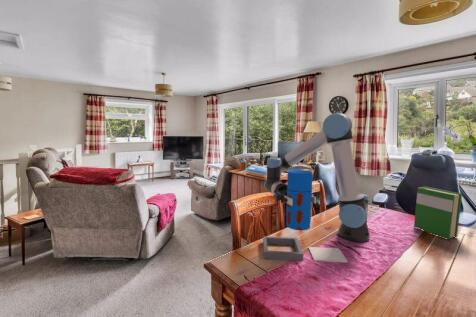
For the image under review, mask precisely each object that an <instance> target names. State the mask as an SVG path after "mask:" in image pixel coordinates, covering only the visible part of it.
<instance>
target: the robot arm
mask: <svg viewBox="0 0 476 317" xmlns="http://www.w3.org/2000/svg"><path fill="white" fill-rule="evenodd" d="M352 128H353V122H352V120H351V118H350V117H349V116H348V115H346V114H345V113H342V112H335V113H332V114H329V115H327V117H325V119H324V120H323V122H322V127H321V130H320V131H319V132H317V133H316V134H314V135H313V136H312V137H310V138H309V139H306V140H305V141H304V142H303V143H301V144H300V145H299V146H297V147H295V148H294V149H293V150H290V152H288V153H287V154H285V155H284V156H282V157H268V158H267V160H266V179H264V182H263V187H264V189H265V191H267V192H268V193H271V194H272V195H273V197H274V198H275V200H276V202H280V203H281V204H283V203H286V205H287V204H289V205H291V206H292V205H293V199H291V198H289V197H287V183H284V182H282V181H281V173H284V172H288V171H289V169H291V168H293V166H295V165H297V164H298V163H300V162H301V161H302V160H304V159H306V158H307V157H308V156H311V155H312V154H313V153H315V152H316V151H318V150H320V149H321V148H323V147H325V145H329V146H330V147H331V152H332V158H333V162H334V169H335V174H336V179H337V186H338V189H339V196H338V198H337V203H338V209H339V211H338V217H339V220H340V222H341V223H340V226H339V228H338V233H337V234H338V236H339V237H341V238H343V239H344V240H347V241H350V242H351V241H352V242H358V243H359V242H361V243H363V242H368V241H369V240H370V237H371V236H370V231H369V227H368V211H369V202H370V200H369V195H367V194H365V193H361V192H360V188H359V183H358V177H357V172H356V167H355V162H354V155H353V152H352V146H351V143H352V141H353V140H354V137H353V136H354V135H353V131H352V130H353V129H352ZM311 204H317V197H316V196H314V195H312V201H311Z"/></svg>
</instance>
